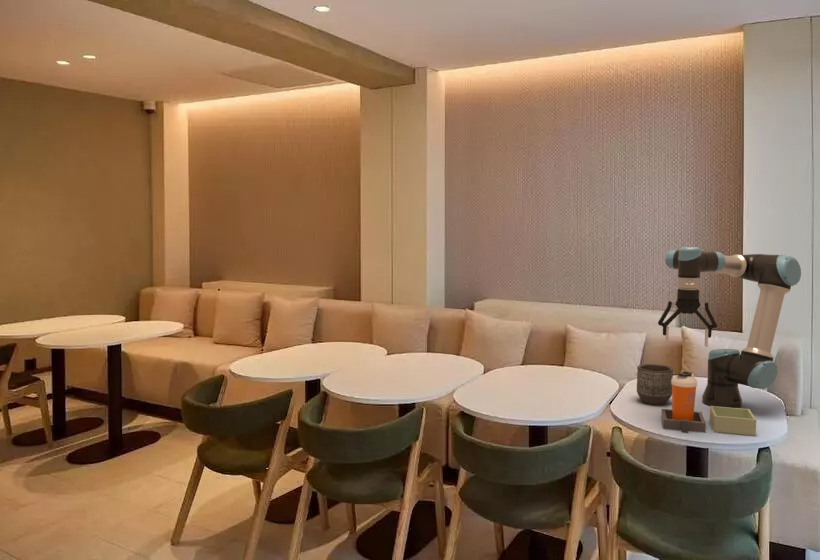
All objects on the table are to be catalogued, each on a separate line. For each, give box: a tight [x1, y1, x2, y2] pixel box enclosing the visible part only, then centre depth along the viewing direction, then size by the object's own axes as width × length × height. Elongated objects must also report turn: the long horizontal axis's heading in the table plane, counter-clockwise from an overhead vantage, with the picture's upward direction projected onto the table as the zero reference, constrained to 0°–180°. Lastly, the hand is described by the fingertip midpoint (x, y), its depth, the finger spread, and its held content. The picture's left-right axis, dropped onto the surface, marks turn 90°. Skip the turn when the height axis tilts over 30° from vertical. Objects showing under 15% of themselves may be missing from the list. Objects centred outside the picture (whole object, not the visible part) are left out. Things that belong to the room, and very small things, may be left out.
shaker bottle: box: [671, 370, 698, 421], centre depth 243 cm, size 9×9×20 cm
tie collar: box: [660, 408, 707, 434], centre depth 243 cm, size 17×14×4 cm
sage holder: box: [709, 405, 757, 437], centre depth 239 cm, size 14×14×6 cm
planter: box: [636, 363, 674, 406], centre depth 273 cm, size 14×14×15 cm
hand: (686, 345), depth 241 cm, fingers open, 13 cm apart
